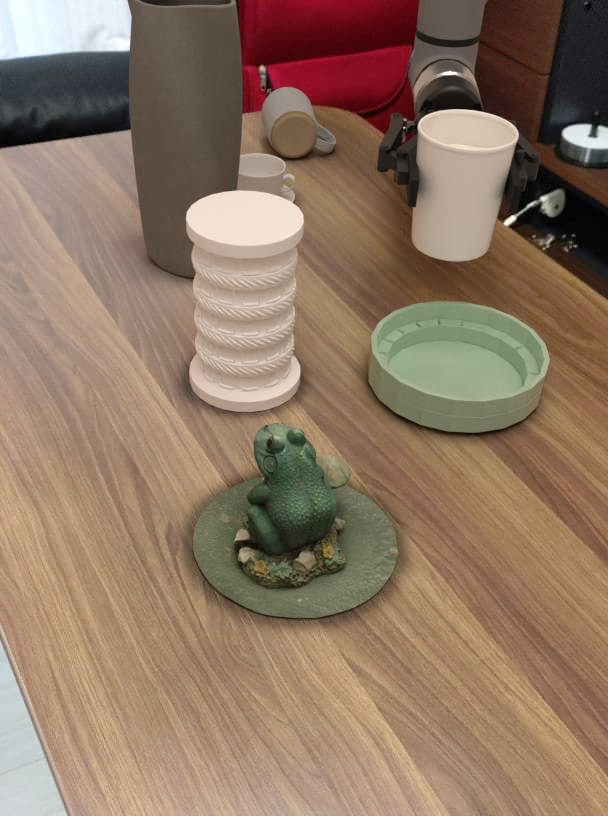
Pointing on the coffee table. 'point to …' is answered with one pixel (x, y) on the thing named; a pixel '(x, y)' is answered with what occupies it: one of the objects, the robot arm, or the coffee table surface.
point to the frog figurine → (295, 534)
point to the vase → (183, 115)
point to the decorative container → (244, 299)
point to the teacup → (264, 175)
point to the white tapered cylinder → (460, 182)
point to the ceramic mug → (293, 124)
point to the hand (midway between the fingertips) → (464, 196)
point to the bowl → (457, 366)
